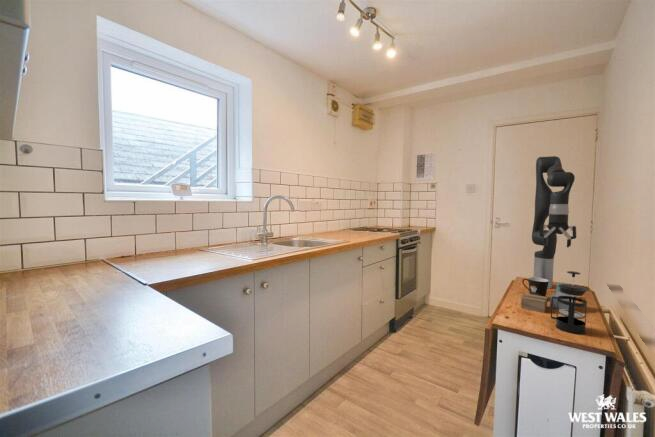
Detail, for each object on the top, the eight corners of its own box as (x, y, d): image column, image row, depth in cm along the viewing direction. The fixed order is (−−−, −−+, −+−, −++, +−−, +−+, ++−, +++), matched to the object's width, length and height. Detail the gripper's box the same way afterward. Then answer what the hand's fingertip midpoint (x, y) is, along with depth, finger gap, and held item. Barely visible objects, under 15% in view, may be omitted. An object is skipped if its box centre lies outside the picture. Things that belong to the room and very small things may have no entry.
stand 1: (524, 302, 148) (525, 293, 148) (546, 307, 142) (547, 297, 142) (520, 307, 142) (521, 297, 141) (544, 312, 136) (544, 302, 135)
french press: (587, 328, 119) (591, 271, 118) (588, 337, 112) (592, 276, 110) (551, 321, 127) (553, 267, 125) (549, 328, 119) (552, 271, 118)
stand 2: (552, 302, 149) (552, 292, 149) (575, 307, 143) (576, 296, 142) (549, 307, 142) (550, 297, 142) (574, 312, 136) (575, 301, 136)
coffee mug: (551, 301, 151) (553, 281, 150) (534, 301, 151) (535, 281, 150) (536, 294, 162) (537, 275, 161) (520, 293, 162) (521, 275, 162)
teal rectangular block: (555, 297, 141) (556, 284, 141) (557, 293, 147) (558, 281, 146) (569, 299, 138) (570, 287, 138) (570, 296, 143) (571, 283, 143)
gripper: (539, 213, 149) (538, 245, 150) (577, 214, 139) (575, 248, 140) (542, 212, 154) (540, 243, 155) (578, 213, 145) (576, 246, 146)
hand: (556, 246), depth 148 cm, fingers open, 8 cm apart
